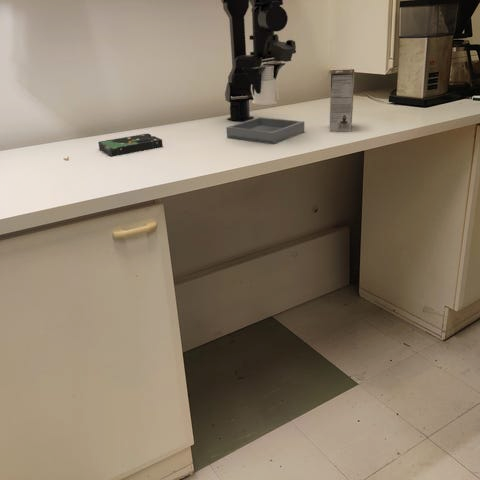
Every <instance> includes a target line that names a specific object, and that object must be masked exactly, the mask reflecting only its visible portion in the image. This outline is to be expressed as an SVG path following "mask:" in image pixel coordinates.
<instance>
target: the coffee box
mask: <svg viewBox="0 0 480 480" xmlns="http://www.w3.org/2000/svg"><path fill="white" fill-rule="evenodd" d="M330 77H331V78H330V100H329V104H330V105H329V106H330V107H329V132H351V131H352V124H353V123H352V122H353V110H354V91H355V89H354V88H355V68H354V69H353V68H351V69H333V70H331V75H330Z"/></svg>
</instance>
